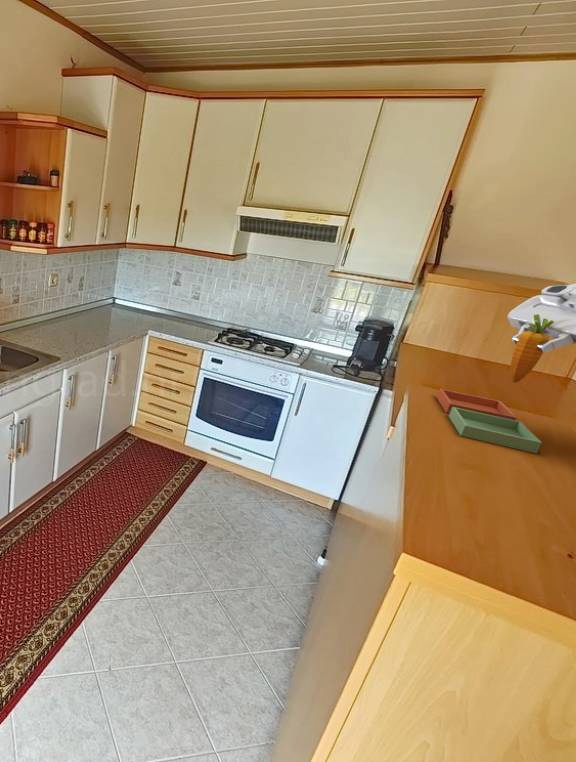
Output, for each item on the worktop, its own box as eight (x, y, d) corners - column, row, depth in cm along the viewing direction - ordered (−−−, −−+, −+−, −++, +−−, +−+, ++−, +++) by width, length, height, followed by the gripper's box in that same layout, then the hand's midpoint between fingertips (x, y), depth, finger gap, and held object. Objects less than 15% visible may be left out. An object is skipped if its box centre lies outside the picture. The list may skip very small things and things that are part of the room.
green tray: (516, 431, 114) (521, 421, 113) (536, 453, 103) (542, 442, 102) (448, 416, 119) (452, 406, 118) (460, 435, 108) (465, 425, 107)
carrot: (533, 388, 104) (565, 319, 99) (505, 383, 105) (535, 315, 100) (522, 381, 108) (552, 315, 103) (495, 377, 110) (524, 311, 105)
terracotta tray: (496, 410, 127) (500, 401, 126) (512, 427, 116) (517, 417, 115) (436, 397, 133) (439, 388, 132) (446, 412, 122) (450, 403, 121)
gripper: (654, 328, 92) (582, 372, 95) (549, 306, 112) (492, 343, 114) (644, 302, 91) (572, 348, 93) (540, 285, 110) (482, 323, 112)
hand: (527, 345), depth 104 cm, fingers closed on carrot, 4 cm apart
